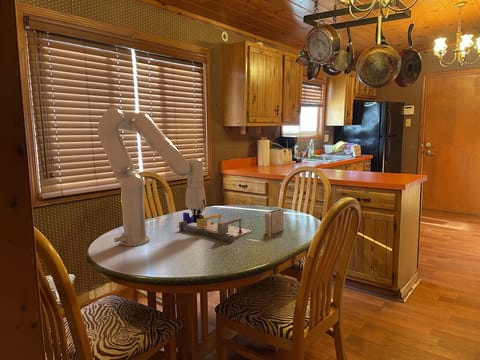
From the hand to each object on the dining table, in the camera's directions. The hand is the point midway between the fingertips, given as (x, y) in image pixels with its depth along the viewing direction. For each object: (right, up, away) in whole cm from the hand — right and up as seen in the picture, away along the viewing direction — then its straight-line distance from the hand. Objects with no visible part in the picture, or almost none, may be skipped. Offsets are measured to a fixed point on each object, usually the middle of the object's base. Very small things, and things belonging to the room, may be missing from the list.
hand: (197, 222), depth 174 cm
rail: (+5, -6, -3) cm, 8 cm away
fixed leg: (+16, -5, -7) cm, 19 cm away
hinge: (+37, -5, 0) cm, 37 cm away
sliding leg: (+6, -4, +2) cm, 8 cm away
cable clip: (-6, -3, +25) cm, 26 cm away
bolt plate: (+12, -5, +6) cm, 14 cm away
